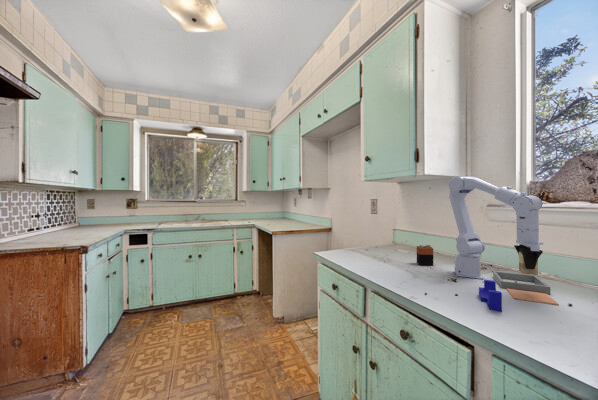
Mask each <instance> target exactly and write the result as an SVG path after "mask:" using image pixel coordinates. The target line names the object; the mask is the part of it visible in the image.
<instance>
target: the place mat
mask: <svg viewBox="0 0 598 400" xmlns="http://www.w3.org/2000/svg"><path fill="white" fill-rule="evenodd" d="M505 289H506V291H507V292H508V293H509V295H510V296H511V297H512V298H513V299H514V300H520V301H527V302H535V303H539V304H540V303H541V304H548V305H554V306H559V305H560V304H559V302H557V301H556V300H555V299H554V298H552V297H551V296H550V294H545V293H538V292H530V291H522V290H515V289H507V288H505Z"/></svg>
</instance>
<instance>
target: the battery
mask: <svg viewBox="0 0 598 400" xmlns="http://www.w3.org/2000/svg"><path fill="white" fill-rule="evenodd" d="M416 264H418V265H419V266H422V267H423V266H428V267H429V266H430V267H431V266H434V248H433V247H432V246H431V245H430V244H425V245H422V244H420V245H417V246H416Z"/></svg>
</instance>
